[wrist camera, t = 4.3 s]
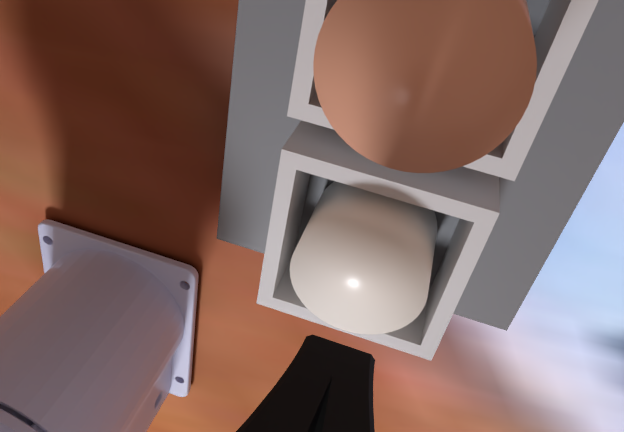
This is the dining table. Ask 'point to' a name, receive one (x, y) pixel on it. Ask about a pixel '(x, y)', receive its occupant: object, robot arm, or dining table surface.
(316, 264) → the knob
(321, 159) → the panel
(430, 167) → the knob middle
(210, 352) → the dining table surface
